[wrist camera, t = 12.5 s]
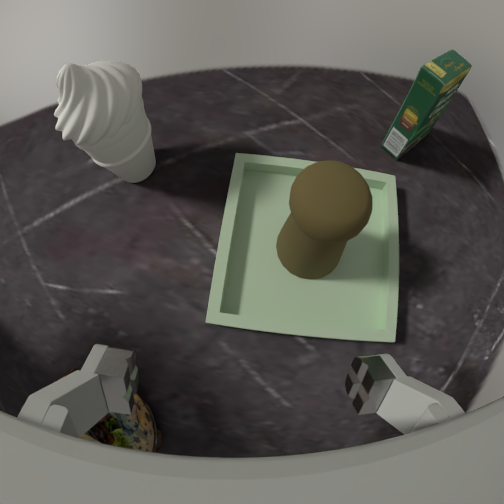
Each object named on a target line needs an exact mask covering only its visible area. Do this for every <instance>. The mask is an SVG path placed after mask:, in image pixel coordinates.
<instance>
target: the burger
mask: <svg viewBox="0 0 504 504" xmlns="http://www.w3.org/2000/svg"><path fill="white" fill-rule="evenodd" d="M81 369H82V368H78V369H75V370H72V369H71V370H70V371H68V372H67V373H66V374H65V375H64V376H63V377H65V376H67V375H69V374H71V373H73V372H75V371H76V370H79V371H81ZM63 377H62V378H63ZM62 378H61V379H62ZM133 396H134V405H133V409H132V413H131V415H129V414H122V413H115V412H109V411H108V414H106V415H105V416H104V417H103V418H102V419H101V420H99V421H98V422H97V423H96V424H95V425H94V426H93V427H91V428H90V429H89V430H88V431H87V432H86V433H84V434H83V435H82V436H81V437H80V438H81V439H85V440H89V441H93V442H98V443H102V444H107V445H112V446H117V447H122V448H127V449H133V450H140V451H146V452H154V453H155V452H157V451H158V450H159V448H158V450H157V447H158V446H160V447H161V441H162V431H160V430H158V429H157V426H156V422H155V418H154V416H153V413H152V411H151V409H150V407H149V406H148V405H147V404H146V403H145V402H144V401H143V400H142V398H141V397H140V395H139V394H138V392H137V393H136V394H134V395H133ZM155 450H157V451H155Z"/></svg>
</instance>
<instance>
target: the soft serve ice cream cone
mask: <svg viewBox="0 0 504 504" xmlns="http://www.w3.org/2000/svg"><path fill="white" fill-rule="evenodd" d="M56 85H57V87H58V89H59V98H58V103H59V106H58V107H57V109H56V110H55V113H54V116H56V117H57V118H58V122H57V124H56V128H55V129H56V130H58V131H62V133H63V136H62V138H63V140H68V139H72V140H73V142H74V143H75V145H76V146H77V147H79V148H80V149H82V150H84V151H85V152H86V153H87V154H88V155H90V156H91V157H92V159H93V161H94V162H95V163H96V164H98V165H99V166H102V167H105V168H107V169H108V170H110V171H111V172H113V173H114V174H116V175H117V176H119V177H120V178H122V179H123V180H125V181H126V182H129V183H137V182H140V181H143V180H144V179H146V178H147V177H148V176H150V174H151V173H152V172H153V170H154V168H155V165H156V159H155V154H154V148H153V143H152V138H151V124H150V122H149V120H148V118H147V117H146V114H145V110H144V103H143V99H142V97H141V95H142V81H141V78H140V75H139V73H138V72H137V71H136V70H135V68H133V67H131V66H130V65H128V64H125V63H122V62H117V61H98V62H94V63H90V64H87V65H84V66H78V65H75V64H70V63H66V64H65V65H64V66H63V67H62V69H61V70H60V71H59V73H58V75H57V79H56Z"/></svg>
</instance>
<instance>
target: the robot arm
mask: <svg viewBox="0 0 504 504" xmlns="http://www.w3.org/2000/svg"><path fill="white" fill-rule="evenodd" d="M136 361H137V356H136V351H135V350H132V349H125V348H119V347H113V346H107V345H101V344H95V345H94V346H93V348H92V350H91V352H90V354H89V355H88V357H87V359H86V361H85V363H84V365H83V367H82V369H81V371H79V370H76V371H75V372H73V373H71V374H69V375H67V376H65V377H63V378H62V379H60V380H58V381H56V382H54V383H52V384H50V385H48V386H46V387H44V388H43V389H41V390H39V391H37V392H35V393H33V394H31V395H29V397H28V399H27V400H26V402H25V404H24V406H23V407H22V409H21V411H20V413H19V415H18V417H14V416H12V415H9V414H7V413H4V412H2V411H0V504H504V397H502V398H500V399H498V400H496V401H494V402H492V403H489V404H487V405H485V406H483V407H481V408H478V409H476V410H474V411H471V412H469V413H467V414H466V413H465V412H464V411H463V410H462V408H461V407H460V406H459V405H458V403H457V402H456V401H455V400H454V398H453V397H451V396H449V395H447V394H445V393H442V392H440V391H438V390H436V389H434V388H432V387H430V386H428V385H426V384H424V383H422V382H420V381H418V380H416V379H414V378H412V377H410V376H409V377H407V376H406V375H405V373H404V372H403V371H402V369H401V368H400V367H399V366H398V364H397V363H396V362H395V360H394V359H393V358H392V357H391V355H389V354H381V355H374V356H362V357H355V358H354V360H353V361H352V364H351V366H352V368H353V369H352V370H351V371H350V372H349V373H348V374H347V377H346V380H345V388H346V392H347V394H348V396H350V397H351V398H353V399H354V400H353V403H352V404H353V406H354V407H355V409H356V411H357V413H358V415H361V414H368V413H375V412H377V414H378V415H379V416H381V417H382V418H383V419H385V420H386V421H387V422H389V423H390V424H391V425H392V426H394V427H395V428H396V429H398V430H399V431H400V432H402V433H403V434H404V435H402V436H398V437H394V438H390V439H386V440H382V441H378V442H374V443H369V444H364V445H359V446H354V447H349V448H343V449H337V450H331V451H324V452H317V453H308V454H299V455H288V456H274V457H251V458H219V457H196V456H182V455H171V454H162V453H154V452H146V451H140V450H133V449H127V448H122V447H117V446H112V445H107V444H102V443H98V442H93V441H89V440H85V439H81V438H80V437H81V436H82V435H83V434H84V433H86V432H87V431H88V430H89V429H90V428H91V427H93V426H94V425H95V424H96V423H97V422H98V421H99V420H101V419H102V418H103V417H104V416H105V415H106V414H108V411H109V412H115V413H122V414H129V415H131V413H132V409H133V405H134V396H133V395H134V394H136V393H137V389H138V383H139V372H138V368H137V367H136V366H135V364H136Z"/></svg>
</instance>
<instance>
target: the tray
mask: <svg viewBox="0 0 504 504" xmlns="http://www.w3.org/2000/svg"><path fill="white" fill-rule="evenodd" d="M314 163H316V162H314V161H306V160H299V159H291V158H283V157H274V156H264V155H254V154H243V153H236V155H235V160H234V165H233V170H232V175H231V180H230V185H229V190H228V195H227V201H226V206H225V211H224V217H223V222H222V227H221V233H220V238H219V244H218V250H217V255H216V261H215V267H214V273H213V279H212V285H211V291H210V297H209V303H208V310H207V316H206V323H209V324H215V325H221V326H227V327H234V328H241V329H248V330H256V331H263V332H271V333H280V334H288V335H298V336H307V337H318V338H329V339H341V340H355V341H371V342H395V337H396V325H397V311H398V290H399V228H398V207H397V193H396V181H395V176H393V175H389V174H384V173H379V172H374V171H368V170H363V169H358V168H354V169H355V170H357V171H358V172H359V173H360V174H361V175H362V176H363V178H364V179H365V181H366V182H367V184H368V185H369V188H370V191H371V194H372V213H371V216H370V219H369V221H368V224H367V225H366V226H365V227H364V228H363V230H362V231H361V232H360V233H359V234H358V235H357V236H356V237H354V238H352V239H350V240H348V241H347V243H346V246H345V248H344V251H343V253H342V256H341V258H340V260H339V263H338V265H337V266H336V267H335V269H334V270H333V271H332V272H331V273H330V274H328V275H326V276H324V277H322V278H318V279H312V280H309V279H303V278H299V277H297V276H295V275H293V274H291V273H290V272H289V271H288V270H287V269H286V268H284V267H283V265H282V263H281V262H280V260H279V258H278V255H277V249H276V243H277V237H278V235H279V233H280V231H281V229H282V227H283V225H284V223H285V222H286V220H287V218H288V217H289V215H290V213H291V211H290V206H289V198H290V190H291V186H292V184H293V182H294V180H295V178H296V177H297V175H298V174H299V173H300V172H301V171H302V170H304V169H305V168H306V167H307V166H309V165H311V164H314Z"/></svg>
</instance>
